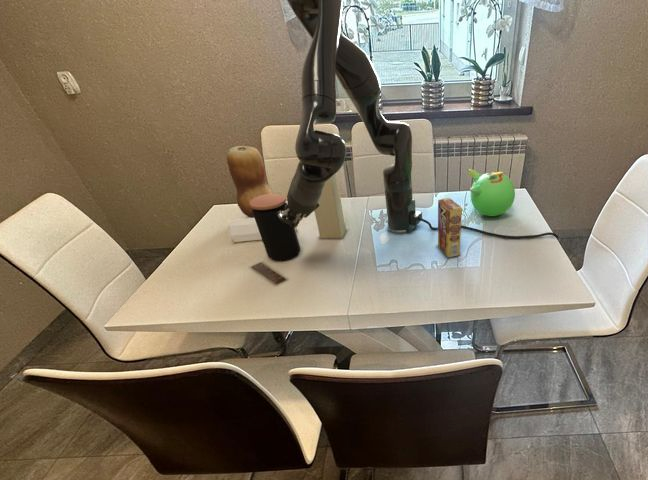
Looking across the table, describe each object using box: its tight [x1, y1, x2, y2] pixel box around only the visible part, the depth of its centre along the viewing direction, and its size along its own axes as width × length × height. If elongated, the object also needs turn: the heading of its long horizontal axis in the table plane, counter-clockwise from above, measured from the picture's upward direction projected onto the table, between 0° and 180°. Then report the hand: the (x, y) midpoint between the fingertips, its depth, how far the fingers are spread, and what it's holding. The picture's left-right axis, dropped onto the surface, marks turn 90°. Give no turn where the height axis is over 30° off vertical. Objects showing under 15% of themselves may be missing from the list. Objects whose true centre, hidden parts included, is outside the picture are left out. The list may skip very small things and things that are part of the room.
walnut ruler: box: [251, 262, 286, 285], centre depth 116 cm, size 15×3×1 cm, turn 46°
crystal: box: [227, 217, 298, 243], centre depth 133 cm, size 7×7×24 cm
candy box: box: [437, 197, 463, 258], centre depth 116 cm, size 9×4×15 cm, turn 20°
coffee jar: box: [249, 193, 301, 262], centre depth 118 cm, size 11×11×18 cm
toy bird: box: [467, 168, 516, 217], centre depth 136 cm, size 18×17×15 cm
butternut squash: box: [226, 145, 274, 218], centre depth 139 cm, size 14×13×25 cm
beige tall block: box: [313, 173, 347, 239], centre depth 127 cm, size 8×7×21 cm
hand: (292, 224), depth 111 cm, fingers closed
